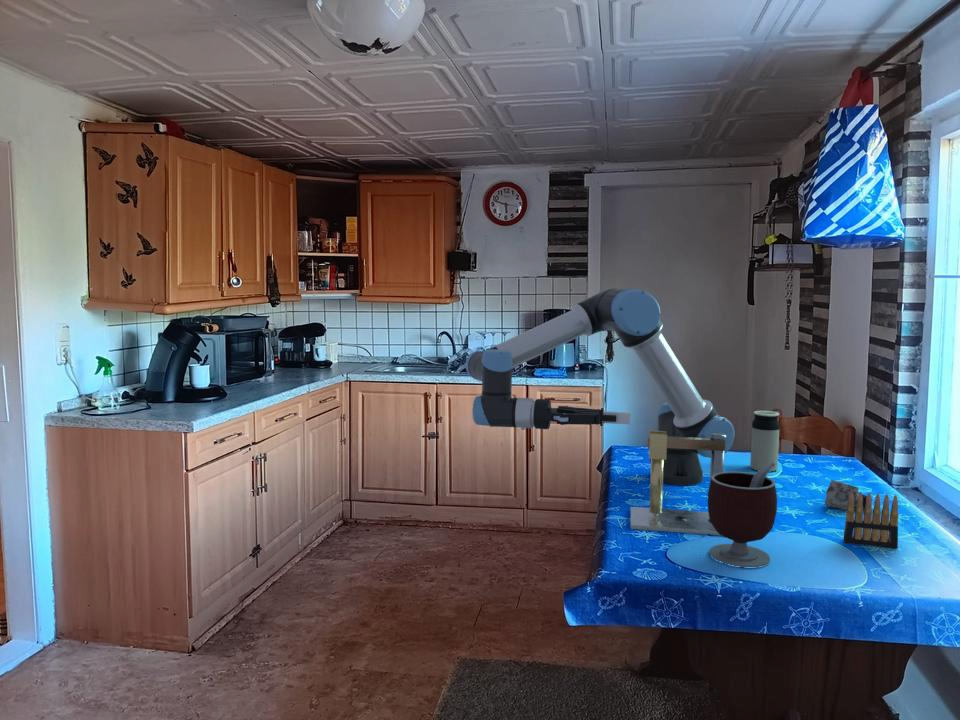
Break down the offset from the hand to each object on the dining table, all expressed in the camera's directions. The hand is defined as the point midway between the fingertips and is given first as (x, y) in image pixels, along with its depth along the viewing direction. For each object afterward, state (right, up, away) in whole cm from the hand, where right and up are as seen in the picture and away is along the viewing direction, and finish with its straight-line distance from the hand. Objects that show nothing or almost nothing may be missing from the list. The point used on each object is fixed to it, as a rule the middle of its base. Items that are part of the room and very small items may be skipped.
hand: (630, 418), depth 175 cm
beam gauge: (+12, -26, 0) cm, 29 cm away
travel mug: (+53, -20, +51) cm, 76 cm away
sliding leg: (+7, -24, +2) cm, 25 cm away
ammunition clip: (+51, -28, -13) cm, 60 cm away
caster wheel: (+60, -25, +14) cm, 67 cm away
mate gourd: (+20, -28, -21) cm, 40 cm away
